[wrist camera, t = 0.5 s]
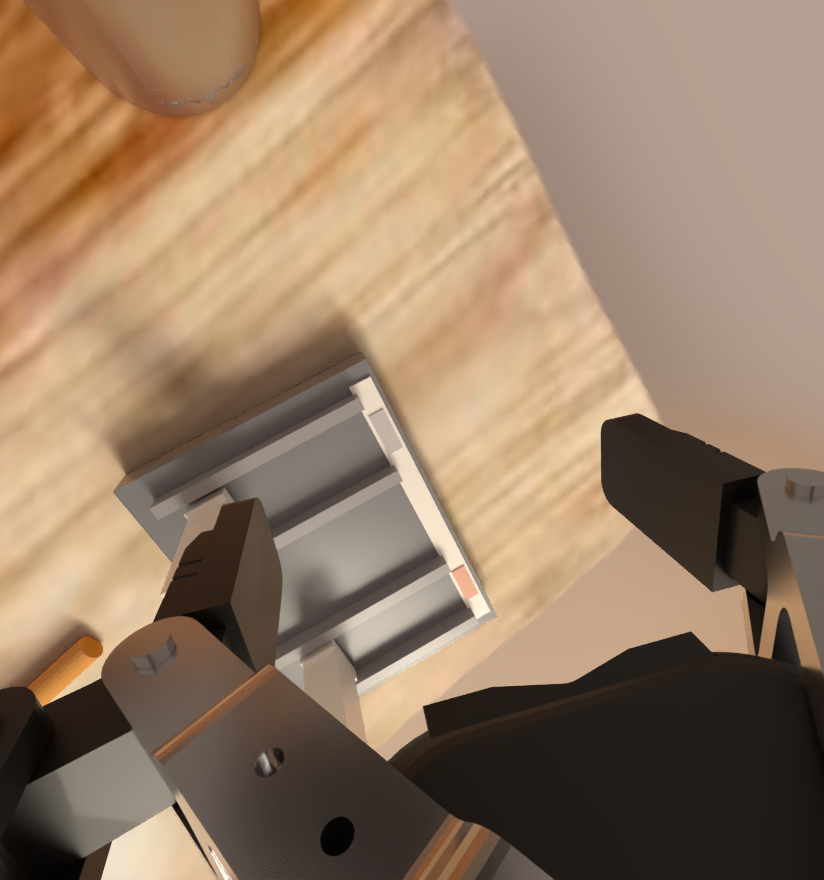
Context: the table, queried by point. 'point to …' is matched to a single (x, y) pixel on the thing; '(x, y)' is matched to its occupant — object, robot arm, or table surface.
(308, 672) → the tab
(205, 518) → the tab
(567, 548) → the table surface
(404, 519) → the switch box
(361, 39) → the table surface
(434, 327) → the table surface
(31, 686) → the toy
